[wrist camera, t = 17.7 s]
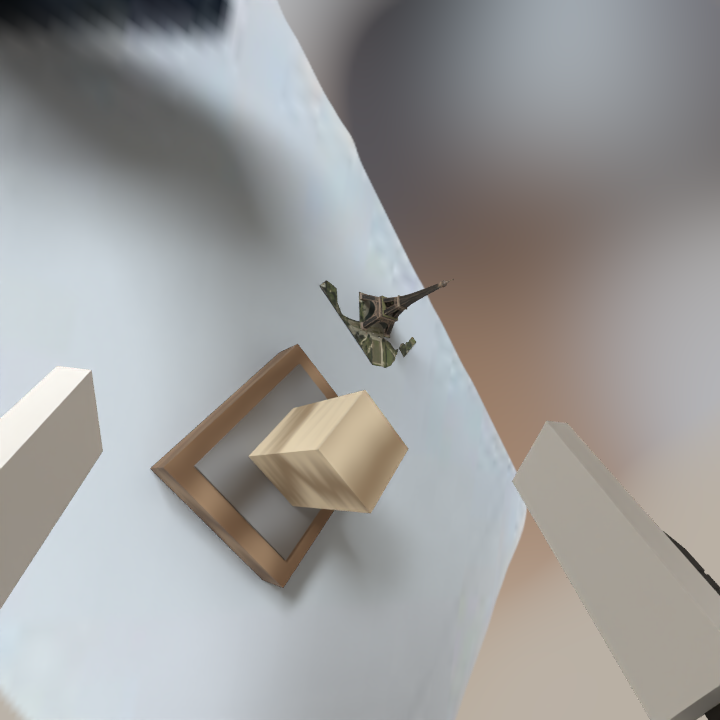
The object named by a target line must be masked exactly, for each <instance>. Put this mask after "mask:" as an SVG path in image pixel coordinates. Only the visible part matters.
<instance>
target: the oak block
mask: <svg viewBox="0 0 720 720" xmlns="http://www.w3.org/2000/svg"><path fill="white" fill-rule="evenodd" d="M407 450H408V448H407V446H406V445H405V444H404V442H403V441H402V439H401V438H400V437H399V435H398V434H397V433H396V431H395V430H394V428H393V427H392V426H391V424H390V423H389V422H388V420H387V419H386V418H385V416H384V415H383V413H382V412H381V411H380V409H379V408H378V407H377V405H376V404H375V403H374V401H373V400H372V398H371V397H370V396H369V394H368V393H367V392H366V390H363V391H359V392H355V393H351V394H347V395H343V396H339V397H336V398H332V399H328V400H324V401H320V402H316V403H312V404H308V405H304V406H300V407H296V408H293V409H292V410H291V411H290V412H289V413H288V414H287V415H286V416H285V418H284V419H283V420H282V421H281V422H280V423H279V424H278V425H277V426H276V427H275V428H274V429H273V430H272V431H271V433H270V434H269V435H268V436H267V437H266V438H265V439H264V440H263V441H262V442H261V443H260V444H259V445H258V446H257V448H256V449H255V450H254V451H253V452H252V453H251V454H250V455H249V458H250V459H251V460H252V461H253V462H254V463H255V464H256V465H257V467H258V468H259V469H260V470H261V471H262V472H263V473H264V474H265V476H266V477H267V478H268V479H269V480H270V481H271V482H272V483H273V484H274V486H275V487H276V488H277V489H278V490H279V491H280V492H281V493H282V495H283V496H284V497H285V498H286V499H287V500H288V501H289V502H290V504H291V505H292V506H298V507H309V508H319V509H330V510H341V511H352V512H362V513H371V512H372V510H373V509H374V507H375V505H376V503H377V502H378V500H379V498H380V497H381V495H382V493H383V491H384V490H385V488H386V486H387V485H388V483H389V481H390V479H391V478H392V476H393V474H394V473H395V471H396V469H397V468H398V466H399V464H400V462H401V461H402V459H403V457H404V456H405V454H406V452H407Z"/></svg>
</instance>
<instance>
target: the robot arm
mask: <svg viewBox="0 0 720 720" xmlns="http://www.w3.org/2000/svg"><path fill="white" fill-rule="evenodd" d="M102 452H103V449H102V442H101V435H100V428H99V421H98V413H97V406H96V399H95V392H94V385H93V378H92V371H91V370H87V369H78V368H69V367H60V366H57V367H56V368H54V369H53V370H52V371H51V372H50V373H49V374H48V375H47V376H46V377H45V378H44V379H43V380H41V381H40V382H39V383H38V384H37V385H36V386H35V387H34V388H33V389H32V390H31V391H30V392H29V393H27V394H26V395H25V396H24V397H23V398H22V399H21V400H20V401H19V402H18V403H17V404H16V405H14V406H13V407H12V408H11V409H10V410H9V411H8V412H7V413H6V414H5V415H4V416H3V417H2V418H0V609H1V607H2V606H3V604H4V603H5V601H6V600H7V598H8V596H9V595H10V593H11V592H12V590H13V589H14V587H15V586H16V584H17V583H18V581H19V580H20V578H21V576H22V575H23V573H24V572H25V570H26V569H27V567H28V566H29V564H30V563H31V561H32V560H33V558H34V556H35V555H36V553H37V552H38V550H39V549H40V547H41V546H42V544H43V543H44V541H45V539H46V538H47V536H48V535H49V533H50V532H51V530H52V529H53V527H54V526H55V524H56V523H57V521H58V519H59V518H60V516H61V515H62V513H63V512H64V510H65V509H66V507H67V506H68V504H69V502H70V501H71V499H72V498H73V496H74V495H75V493H76V492H77V490H78V489H79V487H80V486H81V484H82V482H83V481H84V479H85V478H86V476H87V475H88V473H89V472H90V470H91V469H92V467H93V465H94V464H95V462H96V461H97V459H98V458H99V456H100V455H101V453H102ZM512 482H513V484H514V485H515V487H516V489H517V491H518V492H519V494H520V496H521V498H522V499H523V501H524V503H525V504H526V506H527V508H528V510H529V511H530V513H531V515H532V517H533V518H534V520H535V522H536V523H537V525H538V527H539V529H540V530H541V532H542V534H543V536H544V537H545V539H546V541H547V542H548V544H549V546H550V547H551V549H552V551H553V553H554V554H555V556H556V558H557V560H558V561H559V563H560V565H561V567H562V568H563V570H564V572H565V574H566V575H567V577H568V579H569V580H570V582H571V584H572V585H573V587H574V589H575V591H576V593H577V594H578V596H579V598H580V599H581V601H582V603H583V605H584V606H585V608H586V610H587V611H588V613H589V615H590V617H591V618H592V620H593V622H594V624H595V625H596V627H597V629H598V631H599V632H600V634H601V636H602V637H603V639H604V641H605V643H606V644H607V646H608V648H609V649H610V651H611V653H612V655H613V656H614V658H615V660H616V662H617V663H618V665H619V667H620V668H621V670H622V672H623V674H624V675H625V677H626V679H627V681H628V682H629V684H630V685H631V687H632V689H633V691H634V693H635V694H636V696H637V698H638V700H639V701H640V703H641V705H642V706H643V708H644V710H645V712H646V713H647V715H648V717H649V719H650V720H696V719H698V718H699V717H701V716H703V715H704V714H705V715H706V717H707V718H708V720H720V587H719V586H718V585H717V584H716V583H715V581H714V580H713V579H712V578H711V577H710V576H709V575H708V574H707V575H706V574H705V573H704V569H703V568H702V567H701V566H700V565H699V564H698V562H697V561H696V560H695V559H694V558H693V557H692V556H691V555H690V554H689V552H688V551H687V550H686V549H685V548H683V547H682V546H681V545H680V544H679V543H677V542H676V541H675V540H674V539H672V538H671V537H670V536H669V535H668V534H666V533H665V532H664V531H662V530H661V529H660V528H659V526H658V525H657V524H656V523H655V522H654V521H653V520H652V519H651V517H650V516H649V515H648V514H647V513H646V512H645V511H644V509H643V508H642V507H641V506H640V505H639V504H638V503H637V502H636V501H635V499H634V498H633V497H632V496H631V495H630V494H629V492H627V490H626V489H625V488H624V487H623V486H622V485H621V484H620V483H619V481H618V480H617V479H616V478H615V477H614V476H613V474H612V473H611V472H610V471H609V470H608V469H607V468H606V467H605V465H604V464H603V463H602V462H601V461H600V460H599V459H598V458H597V456H596V455H595V454H594V453H593V452H592V451H591V450H590V448H589V447H588V446H587V445H586V444H585V443H584V442H583V441H582V439H581V438H580V437H579V436H578V435H577V434H576V433H575V431H574V430H573V429H572V428H571V427H570V426H569V425H568V423H561V422H553V421H546V423H545V425H544V426H543V428H542V430H541V432H540V433H539V435H538V437H537V439H536V440H535V442H534V444H533V446H532V448H531V449H530V451H529V453H528V454H527V456H526V458H525V460H524V461H523V463H522V465H521V467H520V468H519V470H518V472H517V474H516V475H515V477H514V479H513V481H512Z"/></svg>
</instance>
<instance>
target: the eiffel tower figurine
mask: <svg viewBox="0 0 720 720" xmlns="http://www.w3.org/2000/svg"><path fill="white" fill-rule="evenodd" d="M450 281H451V280H450ZM446 285H447V282H445V281H441V282H440V283H438V284H436V285H433V286H431V287H428V288H425V289H423V290H420V291H417V292H414V293H411V294H408V295H405V296H398V297H392V298H387V297H384V296H380V297H375V296H371V295H367V294H364V293H361V292H359V310H360V321H355V320H352V319H349V318H348V317H345V316H344V315H342V313H341V311H340V308H339V305H338V303H337V289H336V288H335V287H334V286H333V285H332V284H331V283H329V282H328V281H325V282H324V283H323V284H321V285H320V287H321V288H322V290H323V291H324V293H325V294H326V295H327V297H328V298H329V300H330V302H331V303H332V305H333V306H334V308H335V309H336V311H337V313H338V314H339V316H340V317H341V318H342V320H343V321H344V323H345V324H346V326H347V327H348V328H349V330H350V331H351V333H352V334H353V336H354V337H355V339H356V340H357V342H358V343H359V345H360V346H361V348H362V349H363V351H364V352H365V354H366V356H367V357H368V359H369V360H370V362H371V363H372V365H376V366H382V367H384V368H386V367H388V366H391V365H392V363H393V361H395V356H396V355H397V352H398V349H397V350H395V349H394V348H393V347H392V345H391V344H390V343H389V342H388V341H387V340H386V339H384V337H387V338H390V333H391V330H392V328H393V325H394V323H395V322H396V321H398V316H399V315H400V314H401V313H402V312H403V311H404V310H405V309H407V307H408V306H410V305H411V304H413V303H414V302H416V301H417V300H419V299H421V298H423V297H424V296H426V295H428V294H430V293H432V292H434V291H435V290H437V289H439V288H441V287H445V286H446ZM383 336H384V337H383ZM415 343H416V341H415V340H414V338H413V337H412V338H411V339H410V340H409V342H406V345H405V344H404V343H402V344H401V345H400V347H399V349H400V351H401V353H402V355H403V357H405V355H406V354H407V353H408V352H409V350H410V349H411V348H412V347H413V345H414V344H415Z"/></svg>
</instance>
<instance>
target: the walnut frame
mask: <svg viewBox="0 0 720 720" xmlns="http://www.w3.org/2000/svg"><path fill="white" fill-rule="evenodd" d="M336 397H338V396H337V394H336V393H335V392H334V390H333V389H332V388H331V387H330V385H329V384H328V383H327V381H326V380H325V379H324V377H323V376H322V375H321V374H320V372H319V371H318V370H317V368H316V367H315V366H314V364H313V363H312V362H311V361H310V359H309V358H308V357H307V355H306V354H305V353H304V351H303V350H302V349H301V347H300V346H299V345H298V344H296V345H294V346H292V347H290V348H288V349H286V350H284V351H282V352H280V353H278V354H277V355H276V356H275V357H274V358H273V359H272V360H271V361H269V362H268V363H267V364H266V365H265V366H264V367H263V368H262V369H261V370H259V371H258V372H257V373H256V374H255V375H254V376H253V377H252V378H250V379H249V380H248V381H247V382H246V383H245V384H244V385H243V386H242V387H240V388H239V389H238V390H237V391H236V392H235V393H234V394H233V395H232V396H230V397H229V398H228V399H227V400H226V401H225V402H224V403H223V404H221V405H220V406H219V407H218V408H217V409H216V410H215V411H214V412H213V413H211V414H210V415H209V416H208V417H207V418H206V419H205V420H204V421H203V422H201V423H200V424H199V425H198V426H197V427H196V428H195V429H194V430H193V431H191V432H190V433H189V434H188V435H187V436H186V437H185V438H184V439H182V440H181V441H180V442H179V443H178V444H177V445H176V446H175V447H174V448H172V449H171V450H170V451H169V452H168V453H167V454H166V455H165V456H164V457H162V458H161V459H160V460H159V461H158V462H157V463H156V464H155V465H153V466H152V467H151V468H150V469H151V470H152V471H153V472H154V473H155V474H156V475H157V476H158V477H159V478H160V479H161V480H162V481H163V482H164V483H165V484H166V485H167V486H168V487H169V488H170V489H171V490H172V491H173V492H174V493H175V494H176V495H178V496H179V497H180V498H181V499H182V500H183V501H184V502H185V503H186V504H187V505H188V506H189V507H190V508H191V509H192V510H193V511H194V512H195V513H196V514H197V515H198V516H199V517H200V518H201V519H202V520H203V521H204V522H205V523H206V524H207V525H208V526H209V527H210V528H211V529H212V530H213V531H214V532H215V533H216V534H217V535H218V536H219V537H220V538H221V539H222V540H223V541H224V542H225V543H226V544H227V545H228V546H229V547H230V548H231V549H232V550H233V551H234V552H235V553H236V554H237V555H238V556H239V557H240V558H241V559H242V560H243V561H244V562H245V563H246V564H247V565H248V566H249V567H250V568H251V569H252V570H253V571H254V572H255V573H256V574H257V575H258V576H259V577H260V578H261V579H262V580H264V581H267V582H269V583H272V584H274V585H277V586H279V587H282V588H284V586H285V584H286V583H287V581H288V580H289V578H290V577H291V575H292V574H293V572H294V571H295V569H296V568H297V566H298V565H299V563H300V562H301V560H302V559H303V557H304V556H305V554H306V552H307V551H308V549H309V548H310V546H311V545H312V543H313V542H314V540H315V539H316V537H317V536H318V534H319V533H320V531H321V530H322V528H323V527H324V525H325V524H326V522H327V521H328V519H329V517H330V516H331V514H332V513H333V511H334V510H330V509H319V508H309V507H298V506H292V505H291V504H290V502H289V501H288V500H287V499H286V498H285V497H284V496H283V495H282V493H281V492H280V491H279V490H278V489H277V488H276V487H275V486H274V484H273V483H272V482H271V481H270V480H269V479H268V478H267V477H266V476H265V474H264V473H263V472H262V471H261V470H260V469H259V468H258V467H257V465H256V464H255V463H254V462H253V461H252V460H251V459H250V458H249V455H250V454H251V453H252V452H253V451H254V450H255V449H256V448H257V446H258V445H259V444H260V443H261V442H262V441H263V440H264V439H265V438H266V437H267V436H268V435H269V434H270V433H271V431H272V430H273V429H274V428H275V427H276V426H277V425H278V424H279V423H280V422H281V421H282V420H283V419H284V418H285V416H286V415H287V414H288V413H289V412H290V411H291V410H292V409H293V408H296V407H300V406H304V405H308V404H312V403H316V402H320V401H324V400H328V399H332V398H336Z"/></svg>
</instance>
